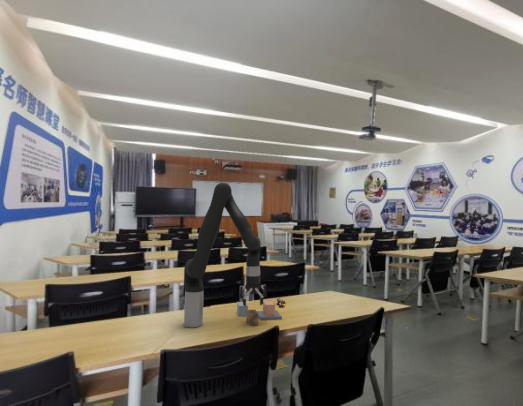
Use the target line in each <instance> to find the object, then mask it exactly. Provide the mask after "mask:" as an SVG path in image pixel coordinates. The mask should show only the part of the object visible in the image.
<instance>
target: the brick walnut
mask: <svg viewBox="0 0 523 406" xmlns="http://www.w3.org/2000/svg"><path fill="white" fill-rule="evenodd" d="M257 311H258V310H257V309H248V310H246V316H245V318H246V320H245V321H246V324H247V325H248V327H257V326H259V318H258V315H259V314H258V312H257Z"/></svg>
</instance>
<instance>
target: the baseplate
mask: <svg viewBox="0 0 523 406" xmlns="http://www.w3.org/2000/svg"><path fill="white" fill-rule="evenodd" d="M272 301H273V300H263V304H262V310H256V311H257V312H258V314H259V315H258V320H259V321H275V320H276V321H277V320H278V321H279V320H282V319H283V317H282V314H280V312H279V311H278V310H276V303H275V302H274V301H273V302H272ZM274 303H275V304H274Z"/></svg>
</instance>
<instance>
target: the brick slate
mask: <svg viewBox="0 0 523 406" xmlns="http://www.w3.org/2000/svg"><path fill="white" fill-rule="evenodd" d="M236 303H237V304H236V313H237V316H238V317H240V318H241V317H246V310H249V305H248V303H247V302H246V306H244V305H243V301H237V302H236Z"/></svg>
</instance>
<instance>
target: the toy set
mask: <svg viewBox="0 0 523 406" xmlns="http://www.w3.org/2000/svg"><path fill="white" fill-rule="evenodd" d="M276 300H277V302H276V303H275V302H274V301H273V300H271V301H272V302H273V303H274V304H275V305H276V306H278V308H281V309H283V308H285V306H286V305H285V304H286V301H285V300H283V299H281V298H280V297H277V298H276Z"/></svg>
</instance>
